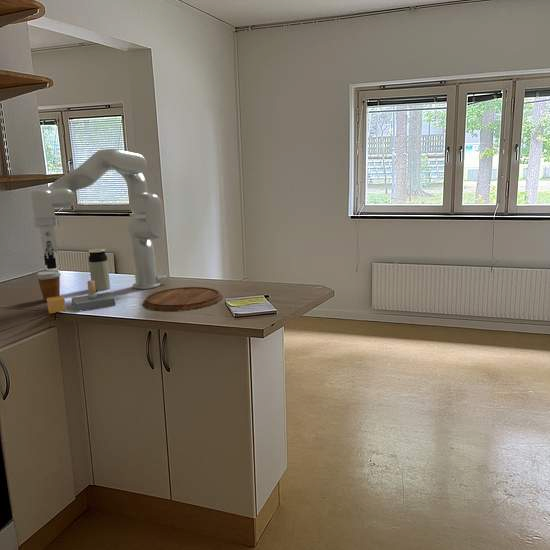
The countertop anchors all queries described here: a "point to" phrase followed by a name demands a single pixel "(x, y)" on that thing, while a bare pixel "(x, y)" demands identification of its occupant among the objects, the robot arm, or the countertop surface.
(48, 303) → the tan cardboard carton
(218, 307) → the countertop surface
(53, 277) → the disposable coffee cup
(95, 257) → the travel mug
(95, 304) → the block
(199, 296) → the cutting board
